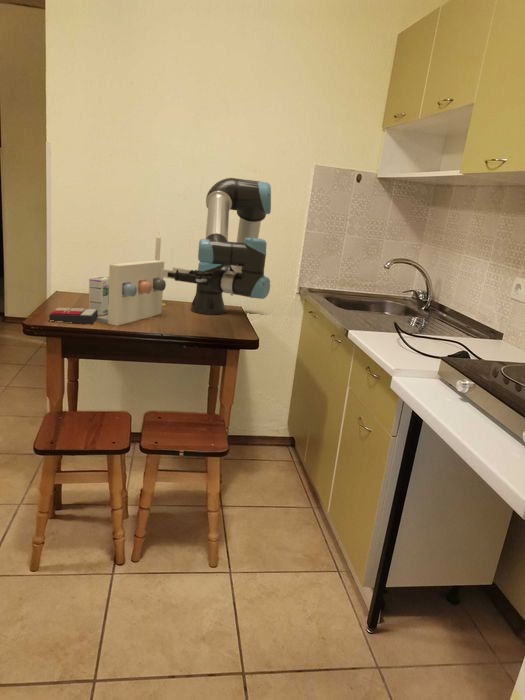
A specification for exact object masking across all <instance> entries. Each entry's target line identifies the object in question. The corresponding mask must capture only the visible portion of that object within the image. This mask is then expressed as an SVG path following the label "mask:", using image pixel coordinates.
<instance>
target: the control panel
mask: <svg viewBox="0 0 525 700" xmlns="http://www.w3.org/2000/svg"><path fill="white" fill-rule="evenodd" d="M161 269H165V261H162V260H160V261H158V260H155V259H154V260H144V261H143V260H142V261H133V262H123V263H110V264H109V269H108V270H109V273H108V277H109V304H108V313H107V314H105V315H102V316H98V317H97V320H96V322H98V323H102V324H107V325H111V326H115V327H117V326H121V325H126V324H128V323H133V322H136V321H140V320H143V319H146V318H147V319H148V318H152V317H155V316H158V315H162V311H163V310H162V308H163V306H162V302H163V295H164V294H163V291H164V290H163V291H160V290H154V289H153V279H160V280H164V277H160V276H161ZM139 281H144V282H150V283H151V285H152V290H151V292H150V293H149V294H147V293H141V292H138V283H139ZM124 283H126V284H132V285H135V286H136V288H137V292H136V295H135V296H133V297H131V296H126V295H122V284H124Z"/></svg>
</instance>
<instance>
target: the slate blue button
mask: <svg viewBox="0 0 525 700" xmlns="http://www.w3.org/2000/svg"><path fill="white" fill-rule="evenodd" d="M136 292H137V288H136V286H135V285H132V284H126V283H124V284H122V295H126V296H131V297H133V296H135V295H136Z"/></svg>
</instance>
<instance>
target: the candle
mask: <svg viewBox="0 0 525 700" xmlns="http://www.w3.org/2000/svg"><path fill="white" fill-rule="evenodd" d="M161 239H162V237H161V235H160V232H158V233H157V235H156V237H155V251H154V260H158V261H161V244H162V243H161V242H162V240H161ZM165 305H166V306H167V303H165V302H163V301H162V307H165Z"/></svg>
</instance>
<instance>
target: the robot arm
mask: <svg viewBox="0 0 525 700" xmlns="http://www.w3.org/2000/svg"><path fill="white" fill-rule="evenodd" d="M205 206H206V208H207V218H206V228H205V229H206V230H205V239H204V238H203V239H202V238H201V239H200V240H199V241H198V242H199V243H198V249H197V250H198V253H197V260H198V261H199V262H198V264H197V265H198V267H197V269H195V270H193V269H185V268H180V267H172V270H170V269H165V268H164V269H161V276H160V277H163V278H164V279H165V278H166V279H171V280H174V281H176V282H182V283H191V284H196V290H195V291H196V292H195V295H194V297H193V299H192V302H191V305H190V310H191V311H192V312H193V313H197V314H203V315H210V314H211V315H215V316H216V315H217V314H218V315H223V314H225V310H226V309H225V308H226V306H225V302H224V298H223V293H224V294H230V296H234V295H237V296H241V297H247V298H250V299H259V300H260V299H261V300H263V299H266V298H267V297H268V295H269V293H270V288H271V279H270V278H269V277H268V276H265V267H266V266H265V265H266V264H265V263H266V257H267V244H268V243H267V241H266V240H265V239H263V238H259V234H260V230H261V223H262V221H264V220H265V219H266V216H267V215H270V214H271V212H272V211H271V210H272V187H271V184H270V183H269V182H267V181H266V182H265V181H261V180H253V179H252V180H250V179H242V178H236V177H227V178H224V179H221V180H219V181H217V182H216V183H214V184H213V185H212V186H211V188H210V189H209V190H208V192H207V194H206V199H205ZM231 210H232V211H236V215H237V217H239V219H238V220H239V221H238V229H237V237H236V241H229V217H230V215H229V214H230V211H231ZM211 315H210V316H211Z"/></svg>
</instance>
